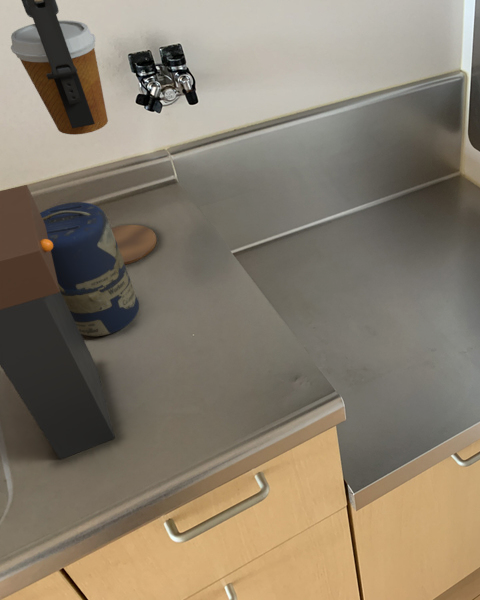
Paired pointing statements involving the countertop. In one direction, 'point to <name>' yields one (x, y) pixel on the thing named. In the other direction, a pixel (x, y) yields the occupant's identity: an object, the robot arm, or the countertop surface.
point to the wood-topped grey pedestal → (45, 335)
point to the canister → (90, 268)
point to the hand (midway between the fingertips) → (78, 111)
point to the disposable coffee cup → (83, 59)
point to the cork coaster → (134, 241)
